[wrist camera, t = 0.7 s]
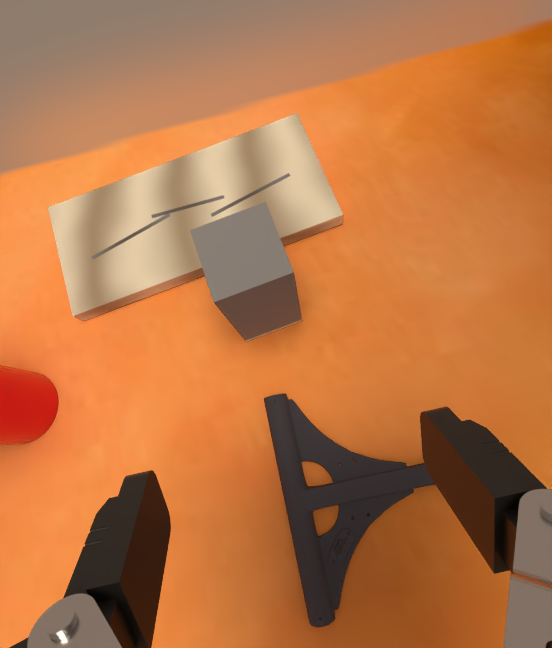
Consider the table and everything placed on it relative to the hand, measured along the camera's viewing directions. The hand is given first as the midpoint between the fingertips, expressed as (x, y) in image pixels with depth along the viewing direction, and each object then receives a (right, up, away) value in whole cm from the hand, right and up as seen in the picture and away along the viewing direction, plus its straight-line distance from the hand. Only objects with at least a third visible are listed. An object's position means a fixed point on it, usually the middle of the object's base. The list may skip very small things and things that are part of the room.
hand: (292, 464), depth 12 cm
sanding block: (-1, +6, +20) cm, 21 cm away
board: (-7, +13, +22) cm, 27 cm away
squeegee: (+7, -7, +17) cm, 20 cm away
